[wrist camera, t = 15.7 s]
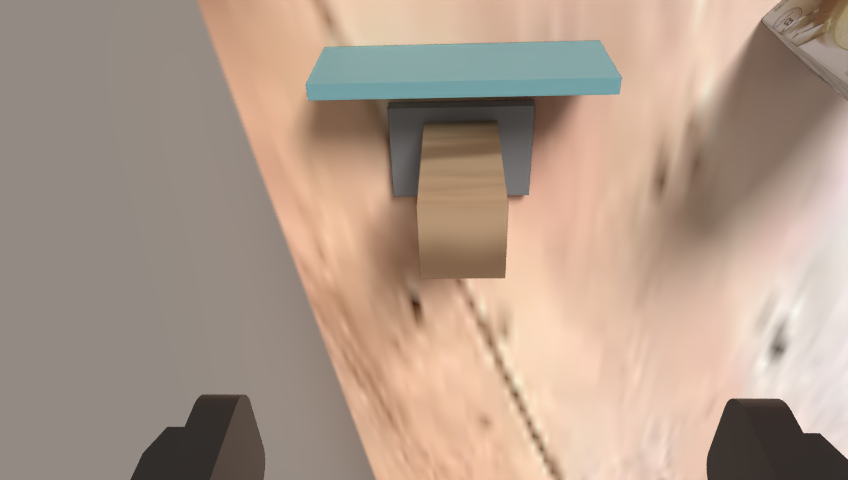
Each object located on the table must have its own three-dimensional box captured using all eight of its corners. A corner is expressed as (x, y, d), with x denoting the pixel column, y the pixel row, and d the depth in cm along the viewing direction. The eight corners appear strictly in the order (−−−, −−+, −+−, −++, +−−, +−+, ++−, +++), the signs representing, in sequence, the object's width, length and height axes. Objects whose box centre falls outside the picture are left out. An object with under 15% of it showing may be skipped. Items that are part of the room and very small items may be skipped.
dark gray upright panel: (388, 102, 44) (387, 108, 43) (533, 100, 43) (535, 105, 42) (395, 189, 48) (394, 196, 47) (527, 187, 47) (528, 194, 46)
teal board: (324, 47, 42) (305, 84, 36) (599, 40, 41) (621, 77, 35) (326, 61, 42) (308, 100, 37) (597, 55, 41) (619, 94, 36)
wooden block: (424, 121, 43) (416, 207, 34) (496, 120, 43) (508, 206, 34) (426, 188, 46) (420, 283, 37) (494, 187, 46) (504, 282, 37)
